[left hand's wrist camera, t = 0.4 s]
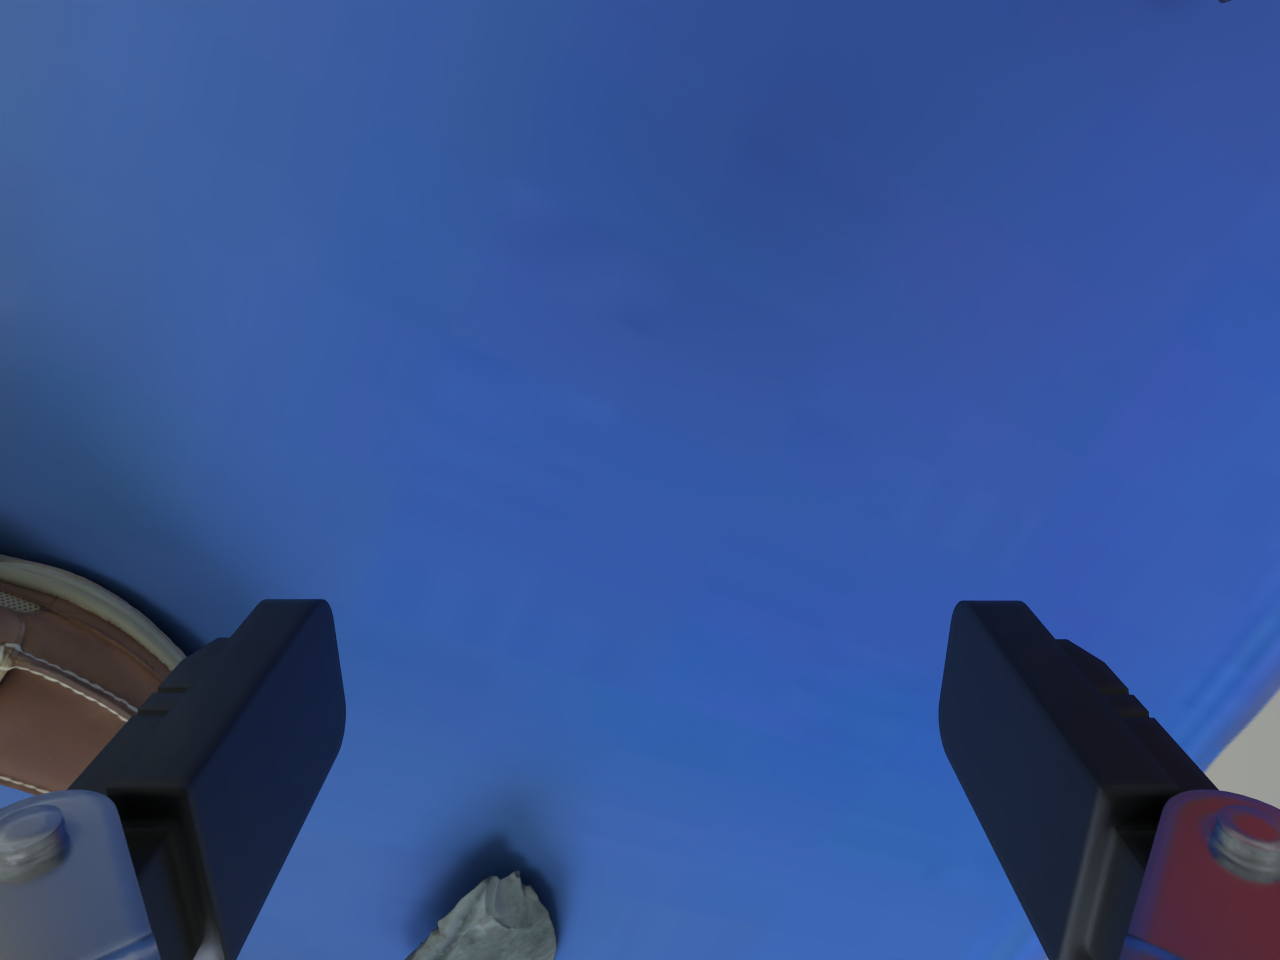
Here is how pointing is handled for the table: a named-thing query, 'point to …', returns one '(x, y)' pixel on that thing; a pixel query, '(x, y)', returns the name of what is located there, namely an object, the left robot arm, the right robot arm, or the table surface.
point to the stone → (493, 925)
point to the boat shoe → (68, 672)
